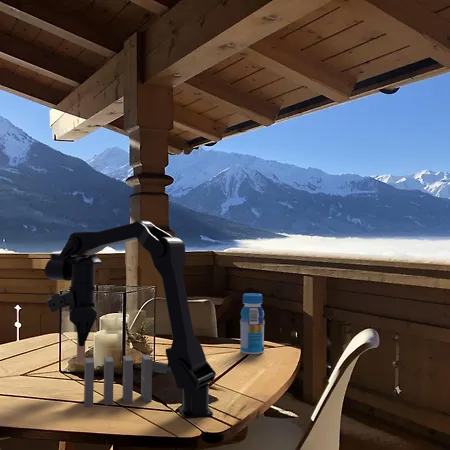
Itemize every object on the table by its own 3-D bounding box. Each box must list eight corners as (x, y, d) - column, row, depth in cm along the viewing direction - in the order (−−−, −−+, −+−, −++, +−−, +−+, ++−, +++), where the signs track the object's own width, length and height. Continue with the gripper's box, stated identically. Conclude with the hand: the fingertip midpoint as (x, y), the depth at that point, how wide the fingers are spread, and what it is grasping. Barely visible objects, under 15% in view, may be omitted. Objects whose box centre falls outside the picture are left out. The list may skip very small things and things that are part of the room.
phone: (142, 359, 161) (182, 365, 154) (142, 363, 161) (182, 369, 154) (126, 365, 154) (167, 371, 147) (126, 368, 154) (167, 375, 147)
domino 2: (91, 399, 123) (92, 357, 123) (93, 406, 118) (94, 362, 118) (84, 400, 122) (84, 358, 123) (85, 406, 118) (85, 362, 118)
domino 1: (84, 355, 132) (85, 316, 133) (84, 360, 128) (85, 319, 128) (76, 356, 132) (77, 316, 132) (77, 360, 127) (78, 319, 127)
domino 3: (111, 398, 124) (111, 356, 125) (113, 404, 120) (113, 361, 120) (103, 398, 124) (104, 357, 124) (105, 405, 119) (105, 361, 119)
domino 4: (129, 396, 126) (130, 355, 126) (132, 403, 121) (133, 360, 121) (122, 397, 125) (123, 356, 125) (124, 403, 120) (125, 360, 121)
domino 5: (148, 395, 127) (148, 354, 127) (151, 401, 122) (152, 359, 122) (140, 395, 126) (141, 355, 127) (144, 402, 122) (144, 359, 122)
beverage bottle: (235, 352, 176) (235, 294, 177) (248, 348, 183) (248, 292, 184) (256, 356, 171) (256, 296, 172) (268, 351, 178) (269, 294, 179)
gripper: (50, 279, 137) (48, 338, 136) (47, 285, 119) (46, 353, 118) (93, 278, 140) (91, 336, 140) (97, 285, 122) (95, 351, 122)
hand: (81, 343), depth 130 cm, fingers closed on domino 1, 5 cm apart
